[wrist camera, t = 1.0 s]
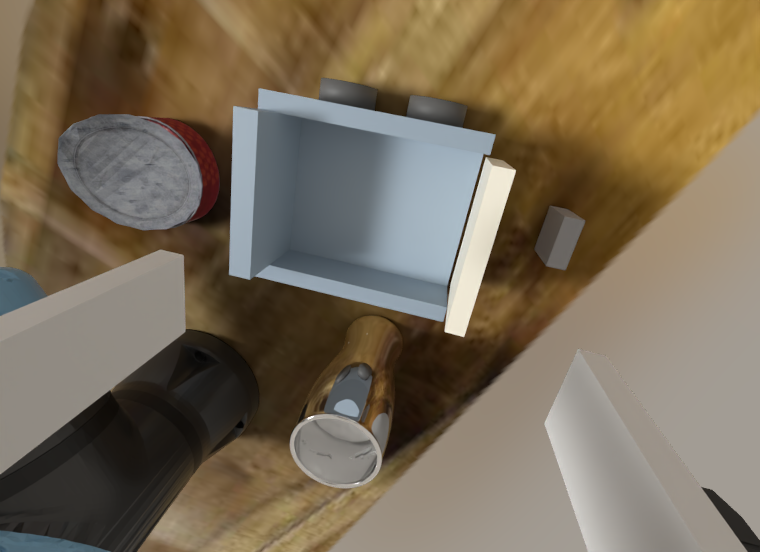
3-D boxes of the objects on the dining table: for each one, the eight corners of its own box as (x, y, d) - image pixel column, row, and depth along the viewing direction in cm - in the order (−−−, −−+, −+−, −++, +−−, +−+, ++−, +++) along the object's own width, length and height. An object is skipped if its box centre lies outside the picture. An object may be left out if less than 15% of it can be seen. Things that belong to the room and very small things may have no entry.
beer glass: (421, 343, 39) (406, 462, 25) (375, 379, 41) (339, 504, 27) (372, 297, 38) (329, 394, 24) (329, 337, 40) (267, 445, 26)
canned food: (203, 117, 39) (177, 78, 29) (240, 210, 41) (228, 203, 31) (86, 147, 36) (16, 116, 27) (131, 245, 38) (81, 249, 29)
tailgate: (450, 284, 30) (444, 331, 23) (485, 156, 26) (492, 165, 19) (468, 288, 30) (468, 338, 23) (507, 161, 26) (522, 171, 19)
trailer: (292, 257, 38) (228, 310, 26) (310, 78, 31) (234, 49, 20) (528, 313, 35) (564, 395, 24) (596, 133, 29) (687, 134, 18)
